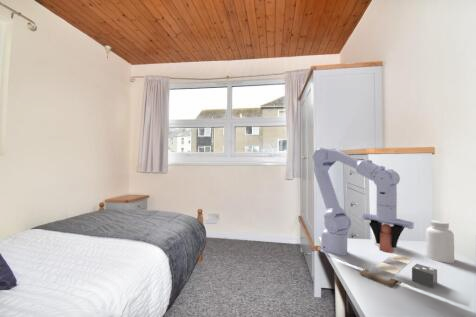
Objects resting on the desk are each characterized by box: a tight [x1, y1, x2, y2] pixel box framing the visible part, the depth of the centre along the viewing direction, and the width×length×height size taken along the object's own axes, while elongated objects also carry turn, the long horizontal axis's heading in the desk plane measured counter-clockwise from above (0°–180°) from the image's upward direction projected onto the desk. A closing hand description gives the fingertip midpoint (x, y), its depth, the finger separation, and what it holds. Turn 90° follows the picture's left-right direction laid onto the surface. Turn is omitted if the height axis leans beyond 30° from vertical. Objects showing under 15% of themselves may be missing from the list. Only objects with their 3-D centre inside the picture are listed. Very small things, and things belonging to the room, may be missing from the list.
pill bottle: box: [425, 219, 455, 264], centre depth 85 cm, size 8×8×15 cm
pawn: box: [378, 224, 395, 254], centre depth 75 cm, size 4×4×9 cm
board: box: [360, 253, 414, 288], centre depth 78 cm, size 9×28×1 cm, turn 128°
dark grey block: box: [411, 263, 438, 289], centre depth 68 cm, size 5×5×5 cm
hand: (386, 245), depth 75 cm, fingers closed on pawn, 4 cm apart
